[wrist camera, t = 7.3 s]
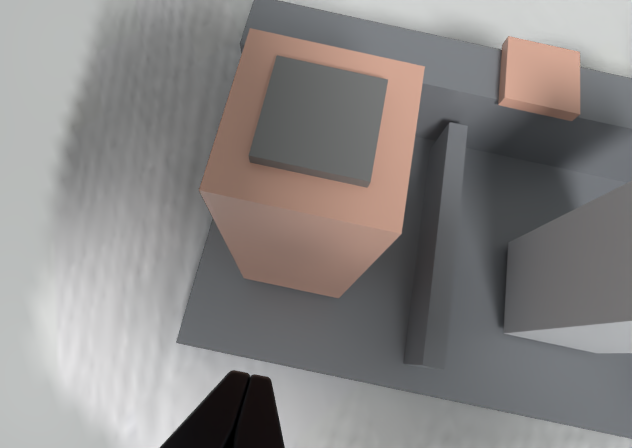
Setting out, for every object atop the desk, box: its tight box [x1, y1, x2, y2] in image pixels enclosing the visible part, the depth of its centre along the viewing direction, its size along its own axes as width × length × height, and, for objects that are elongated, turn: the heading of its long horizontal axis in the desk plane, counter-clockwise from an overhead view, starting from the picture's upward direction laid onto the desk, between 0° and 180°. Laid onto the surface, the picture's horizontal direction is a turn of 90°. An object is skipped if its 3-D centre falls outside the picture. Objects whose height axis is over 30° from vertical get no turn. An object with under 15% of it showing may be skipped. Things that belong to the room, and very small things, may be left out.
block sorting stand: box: [176, 0, 632, 439], centre depth 17 cm, size 14×30×6 cm, turn 79°
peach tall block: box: [199, 28, 425, 298], centre depth 13 cm, size 4×4×10 cm
